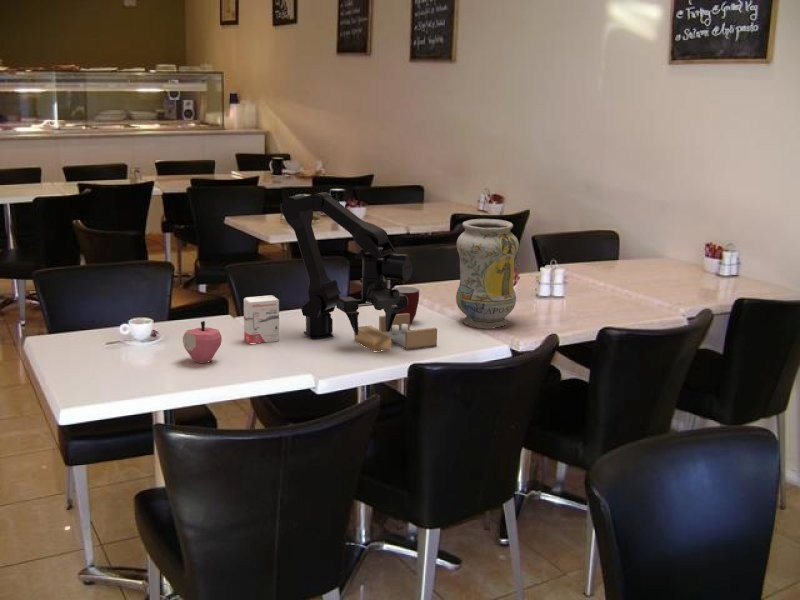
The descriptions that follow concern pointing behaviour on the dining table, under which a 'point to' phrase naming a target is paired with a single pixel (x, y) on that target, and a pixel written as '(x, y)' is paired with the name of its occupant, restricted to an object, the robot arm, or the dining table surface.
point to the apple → (202, 343)
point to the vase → (486, 272)
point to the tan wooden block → (373, 338)
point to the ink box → (261, 319)
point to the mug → (409, 301)
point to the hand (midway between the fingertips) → (372, 333)
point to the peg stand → (408, 333)
